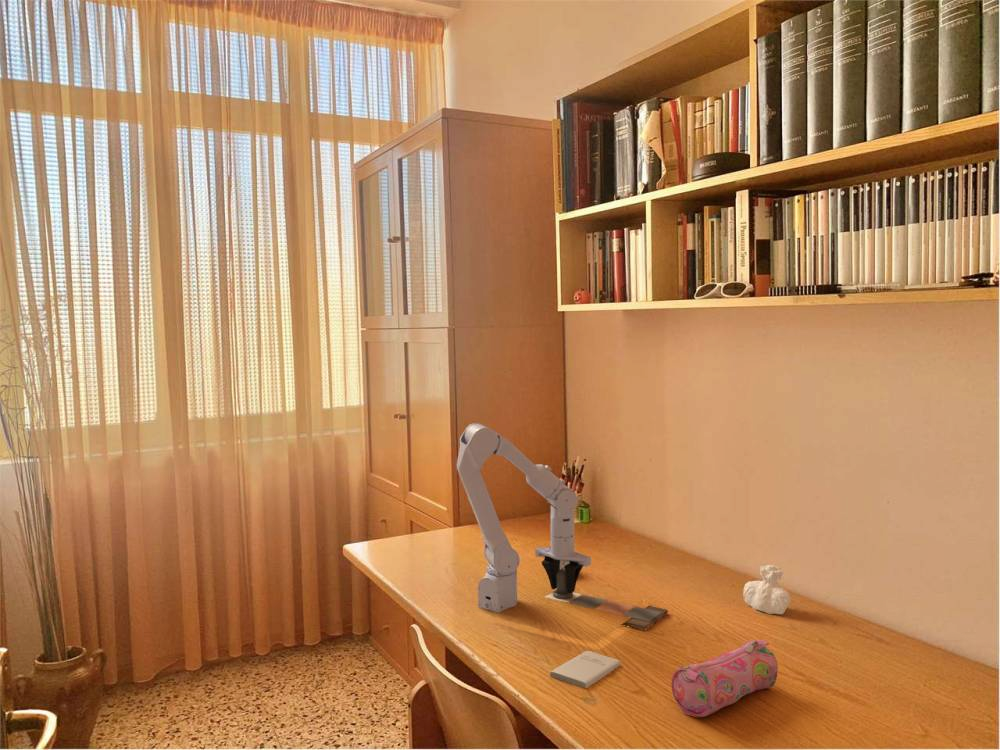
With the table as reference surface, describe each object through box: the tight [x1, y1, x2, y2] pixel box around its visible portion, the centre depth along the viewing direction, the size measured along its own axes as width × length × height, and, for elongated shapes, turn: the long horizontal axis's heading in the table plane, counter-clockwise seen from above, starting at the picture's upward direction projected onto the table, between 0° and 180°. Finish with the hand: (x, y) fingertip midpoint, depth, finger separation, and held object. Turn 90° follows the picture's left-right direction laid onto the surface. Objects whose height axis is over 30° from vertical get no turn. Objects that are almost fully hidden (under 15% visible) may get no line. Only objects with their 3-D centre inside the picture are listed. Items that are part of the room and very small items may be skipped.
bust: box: [743, 564, 792, 615], centre depth 185 cm, size 12×8×11 cm
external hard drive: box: [549, 650, 622, 690], centre depth 155 cm, size 2×8×12 cm
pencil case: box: [670, 638, 779, 718], centre depth 142 cm, size 21×9×9 cm, turn 126°
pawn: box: [553, 569, 574, 599], centre depth 192 cm, size 5×5×6 cm
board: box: [544, 592, 669, 631], centre depth 186 cm, size 12×28×1 cm, turn 54°
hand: (562, 589), depth 192 cm, fingers open, 4 cm apart
